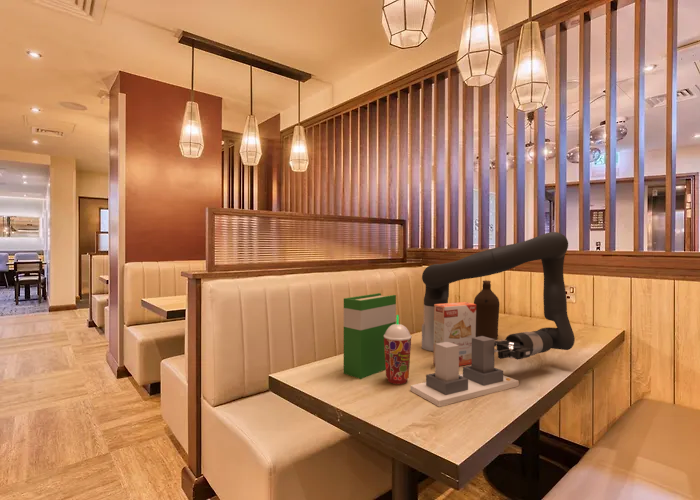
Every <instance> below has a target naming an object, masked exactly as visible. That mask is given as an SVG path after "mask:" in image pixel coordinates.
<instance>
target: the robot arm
mask: <svg viewBox="0 0 700 500" xmlns="http://www.w3.org/2000/svg"><path fill="white" fill-rule="evenodd" d="M568 249H569V241H568V238H567V236H565V235H564V234H563V233H561V232H558V231H550V232H546V233H542V234H541V235H538V236H535V237H532V238H530V239H527V240H525V241H521V242H518V243H517V242H516V243H513V244H506V245H502V246H497V247H493V248H490V249H485V250H482V251H479V252H475V253H473V254H470V255H467V256H465V257H463V258H460V259H458V260H455V261H450V262H445V263H434V264H430V265H428V266H427V267H426V268H424V270H423V272H422V275H421V281H422V282H423V284H424V285H425V292H424V293H425V294H424V297H423V323H422V324H421V349H422V350H425V351H429V352H433V350H434V304H444V303H449V297H450V285H451V284H452V283H456V282H458V281H463V280H469V279H477V278H481V277H487V276H488V277H489V276H492V275H495V274H501V273H504V272H506V271H509V270H511V269H513V268H516V267H518V266H520V265H523V264H525V263H530V262H532V261H539V260H540V261H541V264H542V271H543V272H542V273H543V294H542V295H543V296H542V297H543V299H542V300H543V315H544V318H545V319H546V320H548V321H552V322H553V323H554V324H555V327H542V328H540V329H537V330H533V331H523V332H515V333H510V334H509V335H507V336H506V337H505V339H500V340H499V339H498V340H497V339H495V338H492V339H495V349H494V353H497V359H498V360H499V359H501V360H502V359H503V360H504V359H508V358H509V359H513V358H514V359H515V360H518V361H519V360H522V359H527V358H530V357H531V356H535V355H537V354H543V353H546V352H549V351H550V350H552V349H553V350H562V351H568V350H571V349H572V348H573V347H574V345H575V334H574V331H573V328H572V326H571V323H570V319H569V316H568V303H567V300H568V299H567V291H566V286H565V285H566V284H565V278H564V265H565V264H564V263H565V257H566V253H567V251H568Z"/></svg>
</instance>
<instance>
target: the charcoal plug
mask: <svg viewBox="0 0 700 500" xmlns="http://www.w3.org/2000/svg"><path fill="white" fill-rule="evenodd" d="M494 349H496V347H495V339H492V338H488V337H484V336H480V337H473V338H472V364H471V365H472V369H473V370H476V371H478V372H481V373H483V374H484V373H489V372H493V371H494V368H495V352H494Z"/></svg>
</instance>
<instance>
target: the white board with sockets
mask: <svg viewBox="0 0 700 500" xmlns="http://www.w3.org/2000/svg"><path fill="white" fill-rule="evenodd" d="M434 367H435V368H434V372H433V373H427V374H425V377H426V378H425V380H426V381H425V382H424V381H423V382H418V383H416V384H411V385H409V386H410V392H412V393H414V394H416V395H417V396H419V397H421V398H423V399H424V400H426V401H428V402H430V403H432V404H433V405H435V406H438V408H439V407H444V406H447V405H451V404H455V403H458V402H464V401H467V400H471V399H474V398H478V397H483V396H485V395H489V394H494V393H497V392H500V391H505V390H508V389H512V388H516V387H519V384H520V383H519V380H518V379H515V378H512V377H509V376H506V375H504V370H502V369H499V368H497V367H494V371H493V372H489V373H484V374H483V373H481V372H478V371H476V370H473V369H472V364H470V365H465V366H463V367H462V374H460V366H459V345H456V344H453V343H450V342H443V343H436V344H435V364H434Z"/></svg>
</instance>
